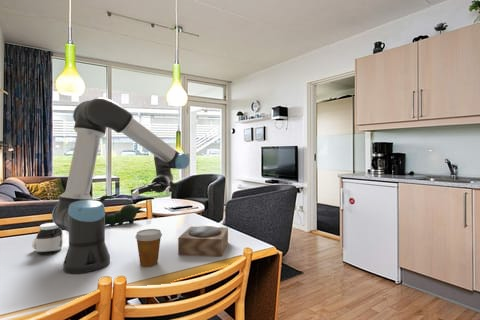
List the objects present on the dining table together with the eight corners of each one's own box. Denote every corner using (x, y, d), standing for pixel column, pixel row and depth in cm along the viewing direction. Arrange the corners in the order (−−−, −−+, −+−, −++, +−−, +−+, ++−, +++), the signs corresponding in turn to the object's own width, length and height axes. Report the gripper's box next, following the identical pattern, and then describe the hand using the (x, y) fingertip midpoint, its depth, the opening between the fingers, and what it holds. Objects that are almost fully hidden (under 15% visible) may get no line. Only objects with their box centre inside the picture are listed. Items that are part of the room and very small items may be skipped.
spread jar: (53, 255, 111) (53, 227, 111) (22, 257, 109) (22, 228, 109) (67, 246, 123) (67, 220, 122) (39, 247, 121) (39, 221, 121)
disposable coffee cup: (167, 262, 104) (167, 230, 104) (146, 270, 96) (146, 237, 96) (150, 257, 109) (150, 227, 109) (130, 265, 101) (129, 233, 101)
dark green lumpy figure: (98, 231, 152) (144, 221, 165) (94, 198, 151) (141, 191, 164) (97, 227, 160) (141, 218, 173) (93, 196, 159) (138, 189, 172)
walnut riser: (178, 254, 112) (178, 235, 112) (190, 241, 130) (190, 224, 130) (221, 256, 110) (221, 236, 110) (227, 242, 128) (227, 225, 128)
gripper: (187, 188, 134) (181, 199, 113) (135, 193, 133) (120, 206, 112) (185, 173, 133) (179, 182, 112) (133, 178, 132) (117, 188, 111)
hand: (150, 194), depth 112 cm, fingers open, 13 cm apart
